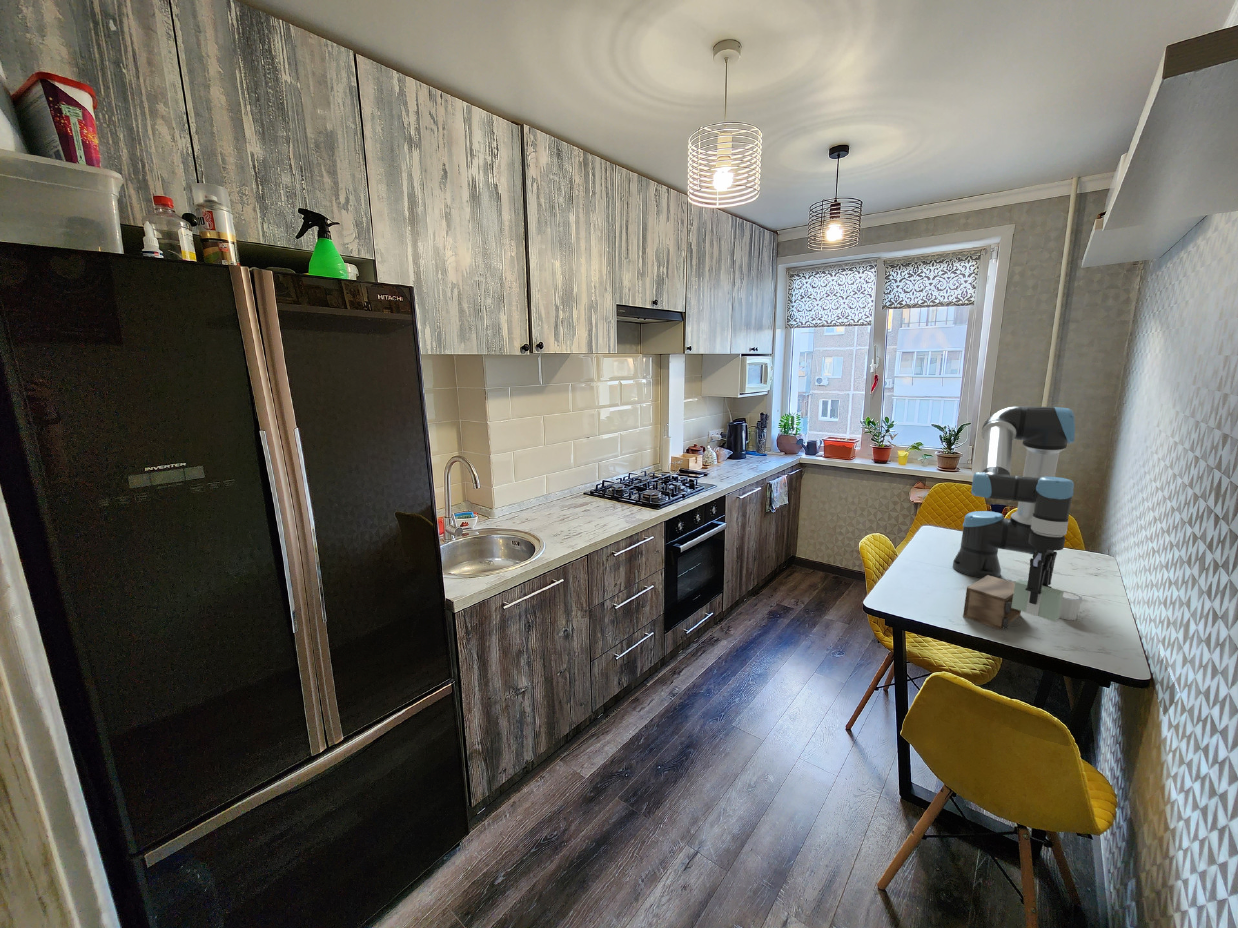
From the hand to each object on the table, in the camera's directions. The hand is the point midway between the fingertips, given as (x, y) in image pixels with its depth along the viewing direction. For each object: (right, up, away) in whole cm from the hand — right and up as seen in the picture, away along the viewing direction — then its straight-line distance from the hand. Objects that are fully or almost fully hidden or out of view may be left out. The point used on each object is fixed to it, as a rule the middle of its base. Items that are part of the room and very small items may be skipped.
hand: (1034, 611), depth 142 cm
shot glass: (+23, -6, +16) cm, 28 cm away
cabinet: (0, -6, +16) cm, 17 cm away
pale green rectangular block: (0, 0, 0) cm, 0 cm away
